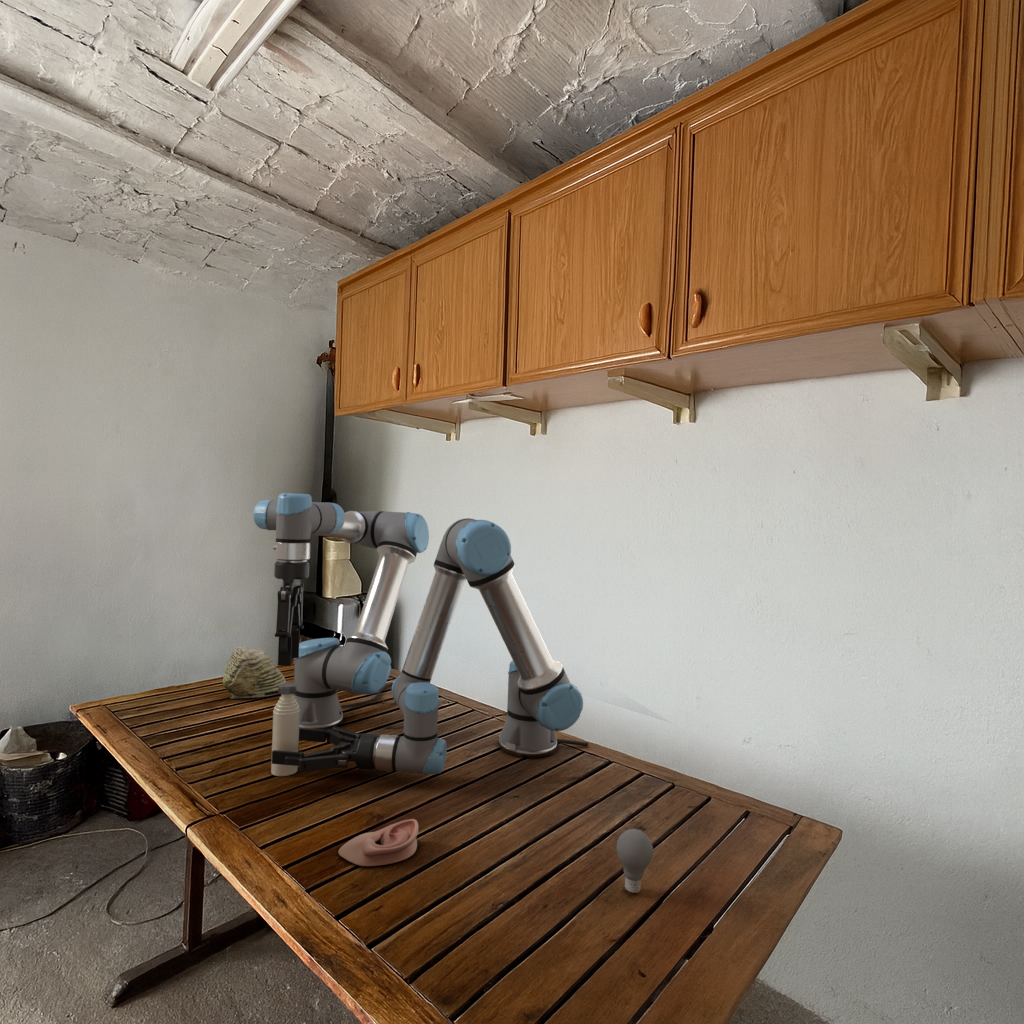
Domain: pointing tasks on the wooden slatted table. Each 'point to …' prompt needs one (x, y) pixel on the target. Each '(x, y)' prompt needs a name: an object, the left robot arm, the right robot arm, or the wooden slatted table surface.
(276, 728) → the bottle
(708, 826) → the wooden slatted table surface
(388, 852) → the anatomical model
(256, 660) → the fossil
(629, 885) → the light bulb
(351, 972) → the wooden slatted table surface
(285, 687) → the cap
